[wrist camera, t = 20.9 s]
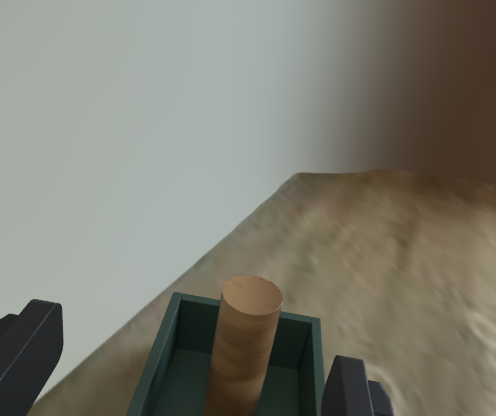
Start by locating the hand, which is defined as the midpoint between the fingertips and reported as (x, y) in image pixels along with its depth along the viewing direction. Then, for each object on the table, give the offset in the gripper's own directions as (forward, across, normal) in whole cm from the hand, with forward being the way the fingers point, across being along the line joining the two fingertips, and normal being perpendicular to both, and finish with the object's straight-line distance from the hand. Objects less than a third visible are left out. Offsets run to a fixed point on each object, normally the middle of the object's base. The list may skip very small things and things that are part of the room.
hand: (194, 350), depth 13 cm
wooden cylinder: (+14, -2, +20) cm, 25 cm away
